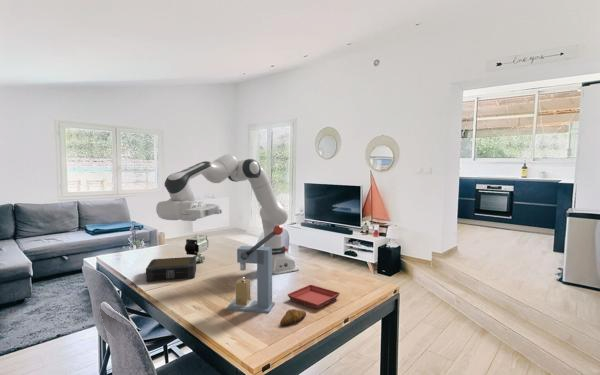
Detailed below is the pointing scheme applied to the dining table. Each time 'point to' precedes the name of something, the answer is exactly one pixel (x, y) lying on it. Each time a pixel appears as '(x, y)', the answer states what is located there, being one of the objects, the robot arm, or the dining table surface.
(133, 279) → the dining table surface
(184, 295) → the dining table surface
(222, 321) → the dining table surface
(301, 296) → the plant saucer
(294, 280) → the dining table surface
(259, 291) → the press
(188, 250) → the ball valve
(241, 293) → the block
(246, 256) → the lever
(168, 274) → the cash box
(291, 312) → the croissant
